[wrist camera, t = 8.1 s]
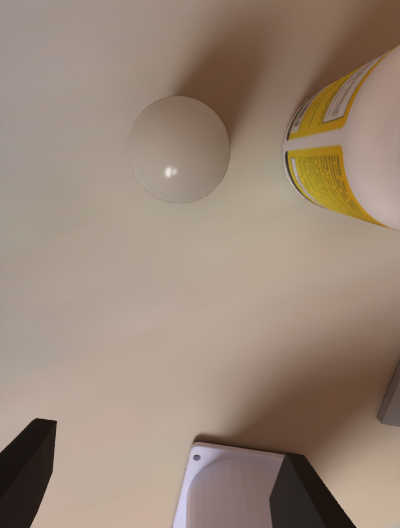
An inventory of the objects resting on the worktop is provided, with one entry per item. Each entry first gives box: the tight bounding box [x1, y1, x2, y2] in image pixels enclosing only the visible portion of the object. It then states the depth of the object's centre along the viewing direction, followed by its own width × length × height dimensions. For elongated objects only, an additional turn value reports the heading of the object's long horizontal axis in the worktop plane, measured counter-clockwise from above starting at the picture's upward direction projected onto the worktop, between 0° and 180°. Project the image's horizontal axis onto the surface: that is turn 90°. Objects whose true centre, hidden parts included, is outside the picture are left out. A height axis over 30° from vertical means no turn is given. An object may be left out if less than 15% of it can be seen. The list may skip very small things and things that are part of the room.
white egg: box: [128, 96, 230, 204], centre depth 15 cm, size 4×4×5 cm
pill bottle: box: [283, 45, 400, 231], centre depth 12 cm, size 6×6×11 cm
